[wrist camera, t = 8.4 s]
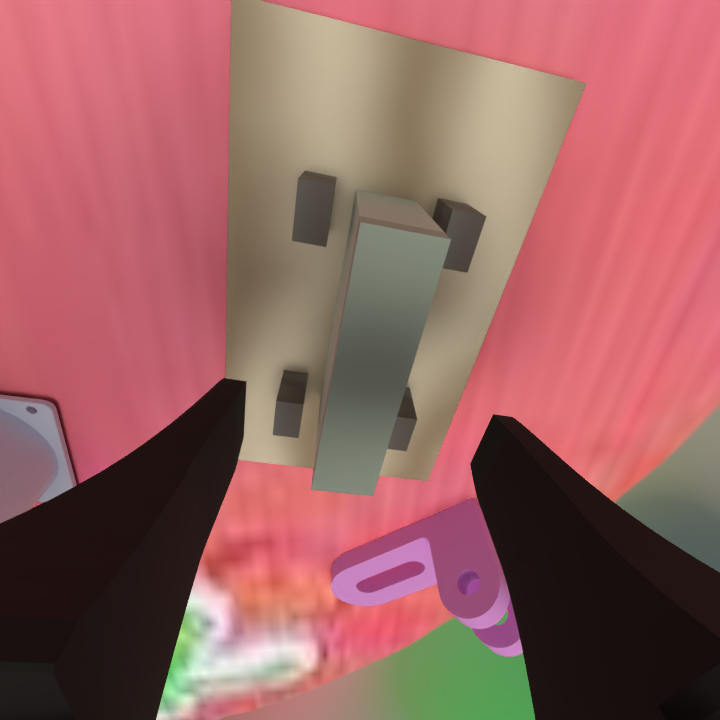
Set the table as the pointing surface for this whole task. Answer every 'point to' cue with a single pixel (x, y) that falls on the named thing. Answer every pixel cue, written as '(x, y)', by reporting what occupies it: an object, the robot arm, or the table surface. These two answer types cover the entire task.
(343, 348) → the door
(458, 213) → the beige board with pegs
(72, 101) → the table surface
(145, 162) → the table surface
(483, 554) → the bracket
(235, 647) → the table surface
